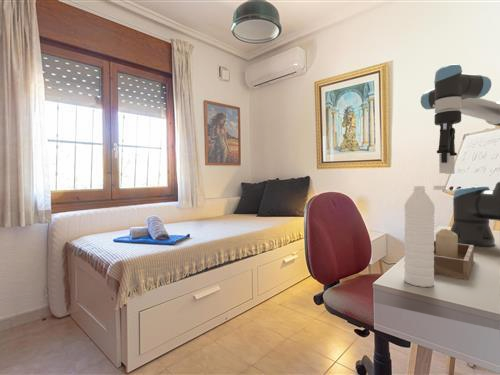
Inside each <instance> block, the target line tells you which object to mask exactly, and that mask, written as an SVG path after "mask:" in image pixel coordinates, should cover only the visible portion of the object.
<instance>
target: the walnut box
mask: <svg viewBox="0 0 500 375" xmlns="http://www.w3.org/2000/svg"><path fill="white" fill-rule="evenodd" d="M474 248H475V245H467V244H461V243H458V259H456V258H450V257H443V256H436V240H434V266H433V267H434V274H433V275H439V276H444V277H451V278H456V279H460V280H465V281H469V277H470V275H471V271H472V267H473V264H474V261H475V260H474V259H475V258H474V256H475V252H474V251H475V250H474Z"/></svg>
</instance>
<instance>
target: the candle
mask: <svg viewBox="0 0 500 375" xmlns="http://www.w3.org/2000/svg"><path fill="white" fill-rule="evenodd" d="M450 230H451V229H450ZM450 230H449V229H446V228H445V229H443V228H441V229H440V230H438V231H437V232H436V233H435V241H436V256H443V257H450V258H456V259H458V244H459V243H458V235H457V234H456V233H454V232H452V231H450Z"/></svg>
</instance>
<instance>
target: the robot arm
mask: <svg viewBox="0 0 500 375" xmlns="http://www.w3.org/2000/svg"><path fill="white" fill-rule="evenodd" d="M433 83H434V88H431V89H429V90H427V91H425V92H424V93H423V94H422V95H421V97H420V105H421V106H422V108H423V109H425V110H434V113H435V115H434V125H435V126H439V127H440V129H439V140H438V142H439V143H438V148H437V150H436V154H439V164H438V165H439V171H438V172H439V174H444V175H445V174H446V175H447V174H448V175H449V174H451V175H454V174H455V162H456V161H455V160H456V159H455V156H456V157H457V156H458V153H457V152H456V151H455V150H456V148H455V147H456V145H455V138H456V137H455V136H456V135H455V134H456V128H454V127H453V125H457V124H460V123H461V122H462V115H465V116H469V117H473V118H477V119H480V120H484V121H485V122H486V123H487V124H489V125H493V126H497V127H500V101H497V102H496V101H492V100H489V99H485V98H483V97H484V96H486V95H487V94H488V93H489V92H490V90H491V88H492V81H491V78H489V77H488V76H487V75H486V76H485V75H481V74H468V73H463V70H462V66H461V65H460V64H456V63H452V64H448V65H445V66H444V65H443V66H442V67H439V68H438V69H437V70H436V71H435V73H434V82H433ZM452 199H453V208H452V209H453V211H452V212H453V223H452V225H451V228H450V231H452V232H454V233H456V234H457V235H458V244H466V245H474V246H479V247H486V246H487V247H489V246H490V247H491V246H495V241H496V240H495V237H494V235H493V232H492V230H491V227H490V221H491V220H492V221H497V222H498V221H499V222H500V181H498V182H496V184H495V187H494V189H493V190H492V189H490V187H489V186H473V187H471V186H470V187H461V188H456V189H455V190H454V192H453V198H452Z"/></svg>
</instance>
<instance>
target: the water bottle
mask: <svg viewBox="0 0 500 375" xmlns="http://www.w3.org/2000/svg"><path fill="white" fill-rule="evenodd" d="M446 187H447V186H446V185H433V191H437V190H438V191H439V190H440V191H445V190H447V188H446ZM412 190H413V192H412V193H411V194H410V196H409V197H408V198H407V199H406V201H405V204H404V252H403V253H404V265H403V266H404V277H403V278H404V280H403V281H405V283H407V284H410V285H412V286H416V287H421V288H427V287H428V288H430V287H433V286H434V285H435V276H434V275H435V274H434V267H433V266H434V241H435V204H434V203H435V202H434V201H432V199H431V198H430V196H429V195H428V194H427V193H426V189H425V186H423V185H422V186H421V185H420V186H418V185H417V186H413V189H412Z"/></svg>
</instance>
